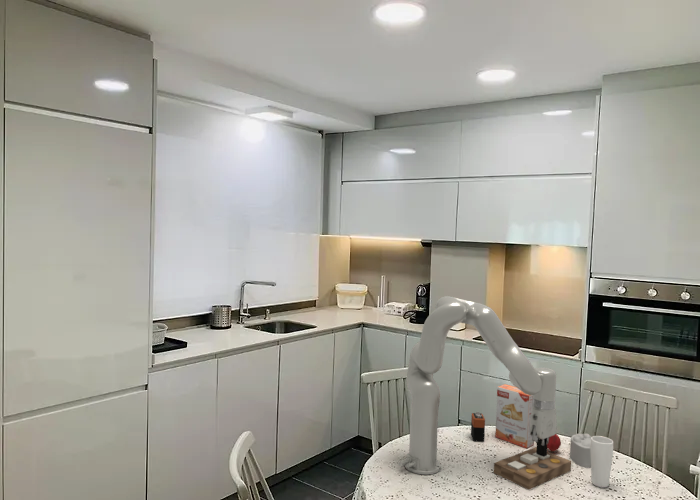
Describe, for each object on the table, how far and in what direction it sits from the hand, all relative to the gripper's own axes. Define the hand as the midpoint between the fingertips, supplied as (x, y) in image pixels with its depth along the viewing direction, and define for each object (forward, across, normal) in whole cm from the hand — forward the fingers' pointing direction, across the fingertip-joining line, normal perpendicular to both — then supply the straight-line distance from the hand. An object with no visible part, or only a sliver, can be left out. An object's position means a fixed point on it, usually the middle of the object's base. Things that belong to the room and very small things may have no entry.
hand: (541, 454), depth 191 cm
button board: (+4, -7, -1) cm, 8 cm away
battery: (+4, 0, +29) cm, 29 cm away
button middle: (+2, -7, 0) cm, 7 cm away
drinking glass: (+4, +4, -19) cm, 20 cm away
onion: (+4, +14, +5) cm, 15 cm away
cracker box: (+4, +10, +19) cm, 21 cm away
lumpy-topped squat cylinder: (+4, +18, -6) cm, 19 cm away
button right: (+2, 0, 0) cm, 2 cm away
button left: (+2, -14, 0) cm, 14 cm away
